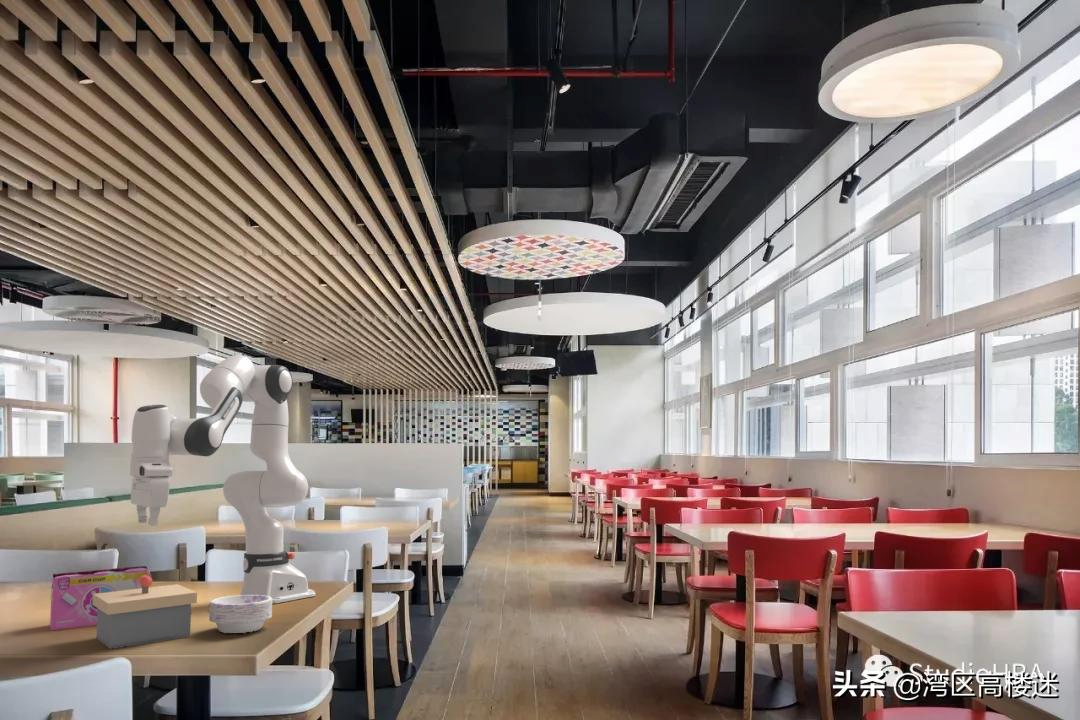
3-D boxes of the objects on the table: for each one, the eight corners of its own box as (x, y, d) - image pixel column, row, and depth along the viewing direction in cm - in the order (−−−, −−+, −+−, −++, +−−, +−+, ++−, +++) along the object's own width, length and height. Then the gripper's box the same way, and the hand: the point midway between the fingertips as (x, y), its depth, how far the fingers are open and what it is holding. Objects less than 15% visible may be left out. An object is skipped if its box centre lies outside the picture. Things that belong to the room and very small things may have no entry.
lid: (176, 594, 214) (177, 567, 215) (196, 603, 202) (197, 575, 203) (92, 604, 201) (93, 576, 202) (108, 614, 189) (109, 585, 190)
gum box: (148, 614, 229) (149, 565, 230) (152, 619, 222) (154, 568, 224) (49, 625, 216) (51, 573, 217) (50, 631, 209) (53, 577, 210)
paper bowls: (275, 622, 216) (276, 592, 217) (266, 635, 202) (267, 603, 202) (215, 625, 214) (216, 594, 215) (202, 639, 199) (203, 605, 200)
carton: (173, 626, 212) (174, 587, 213) (190, 636, 202) (191, 595, 202) (96, 638, 201) (98, 596, 202) (110, 649, 190) (112, 605, 191)
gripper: (125, 468, 211) (123, 522, 210) (147, 469, 195) (145, 528, 194) (151, 467, 215) (149, 520, 214) (174, 469, 200) (172, 526, 198)
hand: (147, 524), depth 204 cm, fingers open, 8 cm apart
